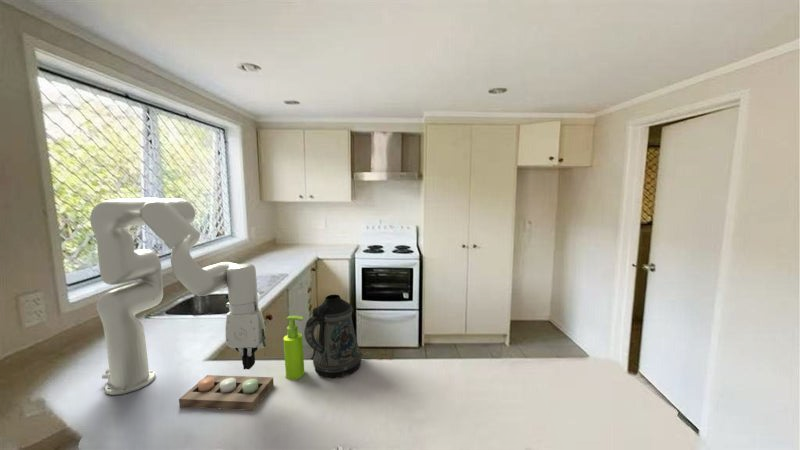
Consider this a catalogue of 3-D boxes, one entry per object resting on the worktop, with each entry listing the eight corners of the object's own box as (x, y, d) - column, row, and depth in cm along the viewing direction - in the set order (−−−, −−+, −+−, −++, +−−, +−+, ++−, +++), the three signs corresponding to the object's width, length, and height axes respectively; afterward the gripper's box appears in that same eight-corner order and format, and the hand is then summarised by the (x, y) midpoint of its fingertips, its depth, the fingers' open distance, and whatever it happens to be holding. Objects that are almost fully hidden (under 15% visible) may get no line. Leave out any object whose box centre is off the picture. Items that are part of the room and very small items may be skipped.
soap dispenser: (301, 380, 105) (298, 320, 102) (282, 378, 106) (278, 319, 104) (310, 370, 110) (307, 313, 108) (291, 368, 112) (288, 312, 110)
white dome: (217, 393, 96) (216, 385, 95) (226, 385, 100) (225, 377, 100) (230, 394, 95) (230, 386, 95) (239, 385, 100) (238, 378, 99)
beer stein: (367, 355, 120) (365, 289, 117) (350, 387, 101) (347, 308, 98) (325, 352, 123) (321, 287, 120) (300, 382, 104) (296, 306, 101)
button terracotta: (195, 393, 96) (194, 385, 96) (204, 384, 101) (204, 376, 100) (208, 393, 96) (207, 385, 96) (217, 385, 100) (217, 377, 100)
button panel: (179, 407, 93) (178, 398, 93) (208, 382, 105) (207, 375, 105) (253, 410, 91) (252, 402, 91) (273, 384, 103) (273, 377, 102)
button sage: (239, 394, 95) (239, 386, 95) (247, 386, 99) (247, 378, 99) (253, 395, 95) (253, 387, 94) (261, 386, 99) (260, 378, 99)
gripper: (211, 311, 91) (217, 373, 93) (262, 311, 90) (267, 374, 92) (227, 302, 99) (232, 359, 101) (275, 302, 97) (279, 360, 99)
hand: (249, 366), depth 96 cm, fingers closed
